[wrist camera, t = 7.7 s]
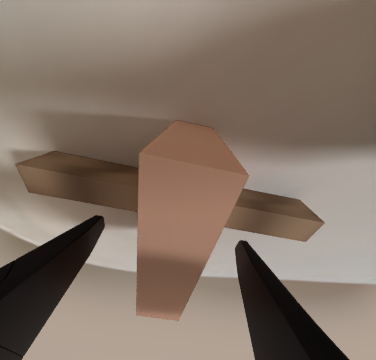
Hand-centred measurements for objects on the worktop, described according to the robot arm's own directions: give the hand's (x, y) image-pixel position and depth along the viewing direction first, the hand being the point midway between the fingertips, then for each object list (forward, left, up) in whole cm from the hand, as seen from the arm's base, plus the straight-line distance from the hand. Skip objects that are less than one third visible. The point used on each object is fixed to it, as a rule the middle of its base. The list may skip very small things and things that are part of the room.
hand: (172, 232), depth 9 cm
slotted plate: (0, 0, -5) cm, 5 cm away
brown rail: (0, 0, -5) cm, 5 cm away
